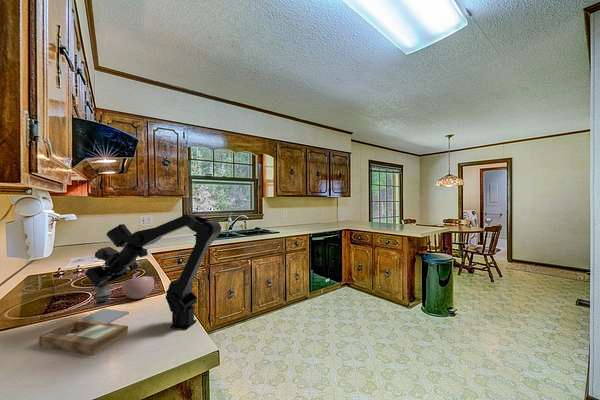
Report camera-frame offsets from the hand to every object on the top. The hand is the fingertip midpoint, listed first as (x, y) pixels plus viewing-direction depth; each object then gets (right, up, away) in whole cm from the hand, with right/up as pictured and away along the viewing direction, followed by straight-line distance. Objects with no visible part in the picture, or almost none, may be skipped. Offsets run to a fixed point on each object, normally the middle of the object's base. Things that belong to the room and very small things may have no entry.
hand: (99, 285), depth 97 cm
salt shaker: (+1, -7, 0) cm, 7 cm away
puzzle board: (+7, -12, -15) cm, 21 cm away
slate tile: (+1, -12, 0) cm, 12 cm away
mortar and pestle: (+2, -12, +20) cm, 24 cm away
